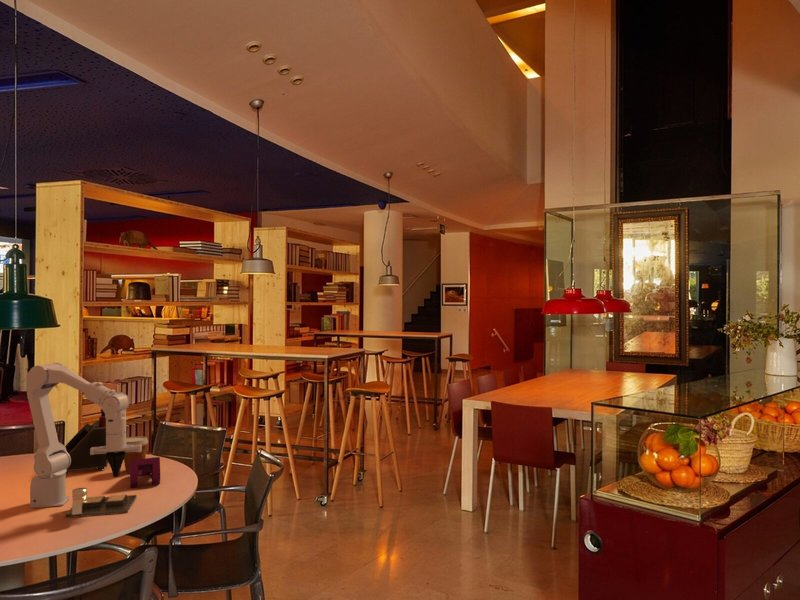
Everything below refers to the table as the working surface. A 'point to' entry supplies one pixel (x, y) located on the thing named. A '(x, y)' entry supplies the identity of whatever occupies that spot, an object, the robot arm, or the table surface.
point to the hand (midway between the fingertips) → (116, 476)
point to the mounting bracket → (144, 470)
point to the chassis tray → (105, 505)
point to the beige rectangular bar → (78, 500)
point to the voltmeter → (88, 446)
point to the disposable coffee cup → (135, 455)
